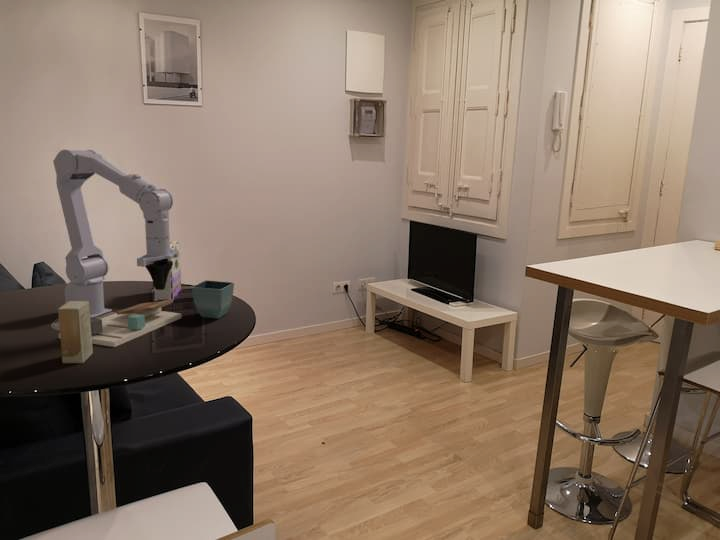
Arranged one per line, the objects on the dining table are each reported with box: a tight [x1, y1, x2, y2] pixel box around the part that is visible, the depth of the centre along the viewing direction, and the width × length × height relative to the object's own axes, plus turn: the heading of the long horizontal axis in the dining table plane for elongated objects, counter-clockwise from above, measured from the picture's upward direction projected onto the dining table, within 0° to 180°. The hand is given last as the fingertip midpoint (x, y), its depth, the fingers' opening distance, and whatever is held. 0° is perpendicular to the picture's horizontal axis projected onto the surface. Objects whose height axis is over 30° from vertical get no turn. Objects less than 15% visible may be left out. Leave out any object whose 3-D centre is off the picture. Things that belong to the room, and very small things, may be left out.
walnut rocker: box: [116, 300, 174, 315], centre depth 153 cm, size 11×9×1 cm
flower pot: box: [191, 280, 235, 319], centre depth 159 cm, size 9×9×9 cm
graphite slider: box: [90, 317, 103, 335], centre depth 138 cm, size 3×3×3 cm
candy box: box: [152, 240, 182, 302], centre depth 179 cm, size 14×6×16 cm, turn 6°
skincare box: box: [57, 301, 94, 364], centre depth 124 cm, size 6×4×12 cm
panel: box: [58, 307, 182, 348], centre depth 148 cm, size 16×26×3 cm, turn 162°
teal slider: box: [127, 314, 145, 330], centre depth 143 cm, size 3×3×3 cm
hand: (160, 289), depth 151 cm, fingers closed
